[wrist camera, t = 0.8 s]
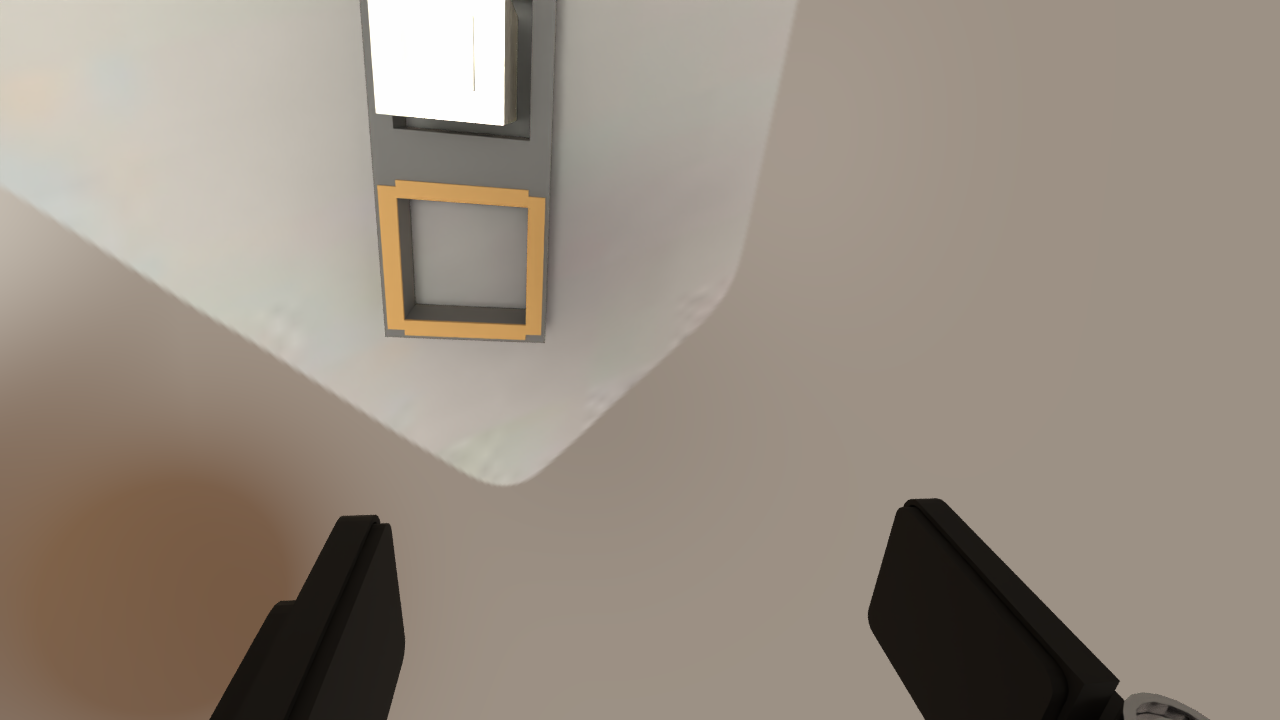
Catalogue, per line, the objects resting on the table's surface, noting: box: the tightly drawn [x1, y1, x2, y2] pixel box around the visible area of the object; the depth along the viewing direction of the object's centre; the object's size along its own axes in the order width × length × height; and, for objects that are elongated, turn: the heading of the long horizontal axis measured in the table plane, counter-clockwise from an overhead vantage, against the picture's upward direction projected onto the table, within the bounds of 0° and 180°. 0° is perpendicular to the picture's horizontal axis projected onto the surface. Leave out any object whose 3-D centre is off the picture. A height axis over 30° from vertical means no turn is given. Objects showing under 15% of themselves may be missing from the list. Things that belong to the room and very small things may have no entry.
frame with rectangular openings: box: [360, 0, 556, 343], centre depth 28 cm, size 17×8×3 cm, turn 174°
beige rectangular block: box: [368, 0, 518, 125], centre depth 24 cm, size 4×4×8 cm
